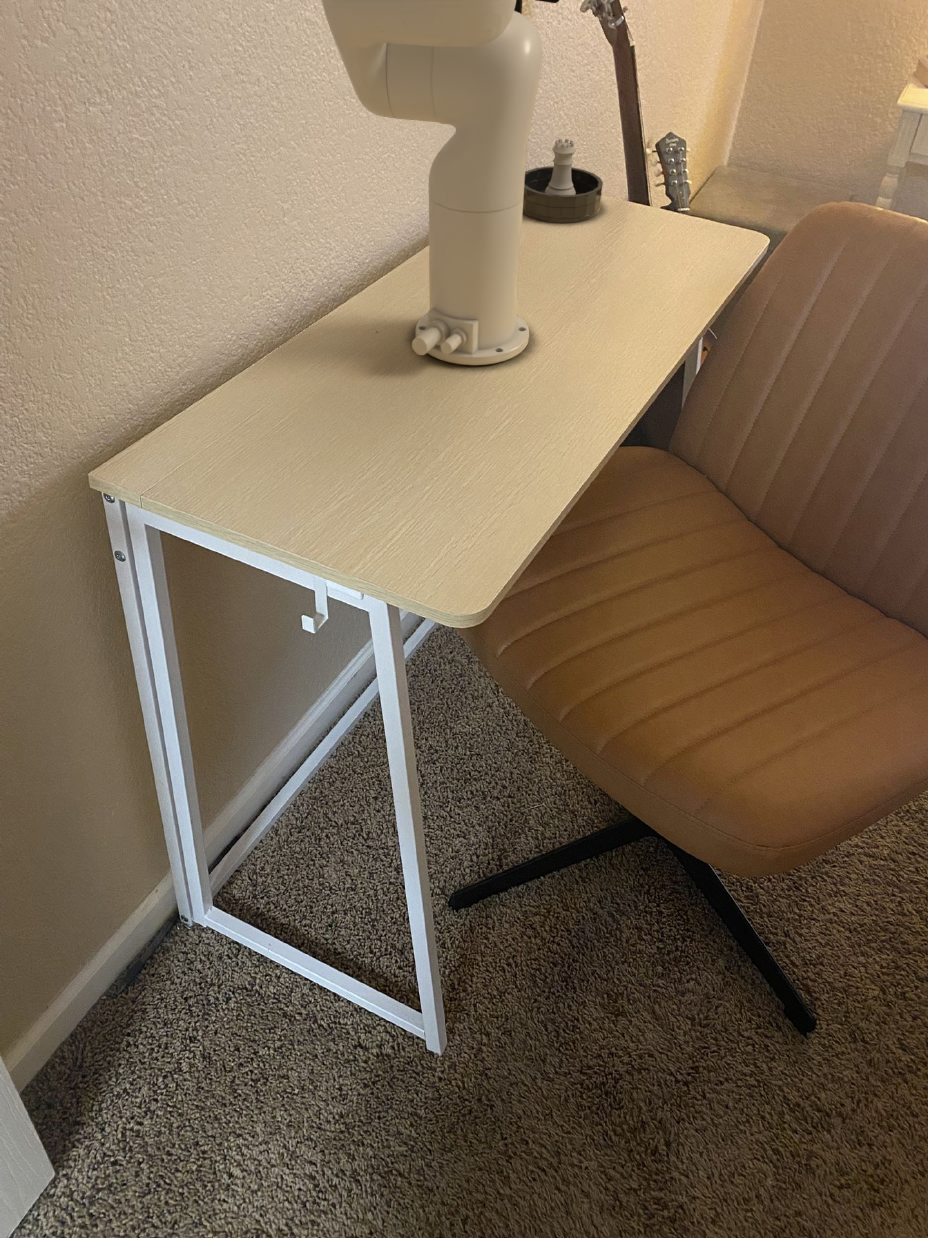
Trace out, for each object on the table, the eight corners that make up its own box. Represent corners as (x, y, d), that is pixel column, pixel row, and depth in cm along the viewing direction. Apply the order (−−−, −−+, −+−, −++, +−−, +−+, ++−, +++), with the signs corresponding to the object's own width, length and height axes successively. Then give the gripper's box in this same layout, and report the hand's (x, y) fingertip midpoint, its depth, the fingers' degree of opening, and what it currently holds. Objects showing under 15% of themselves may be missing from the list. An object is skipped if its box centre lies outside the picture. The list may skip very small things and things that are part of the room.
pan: (579, 229, 127) (582, 202, 124) (503, 211, 131) (504, 185, 128) (612, 201, 134) (615, 175, 132) (539, 185, 138) (541, 160, 136)
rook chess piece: (549, 209, 130) (554, 148, 124) (539, 197, 133) (543, 137, 127) (579, 207, 131) (586, 145, 125) (568, 195, 134) (574, 134, 128)
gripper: (534, -185, 87) (522, 29, 99) (607, -195, 98) (588, -1, 110) (463, -190, 89) (460, 19, 101) (542, -199, 100) (531, -9, 112)
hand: (527, 8), depth 105 cm, fingers open, 9 cm apart
